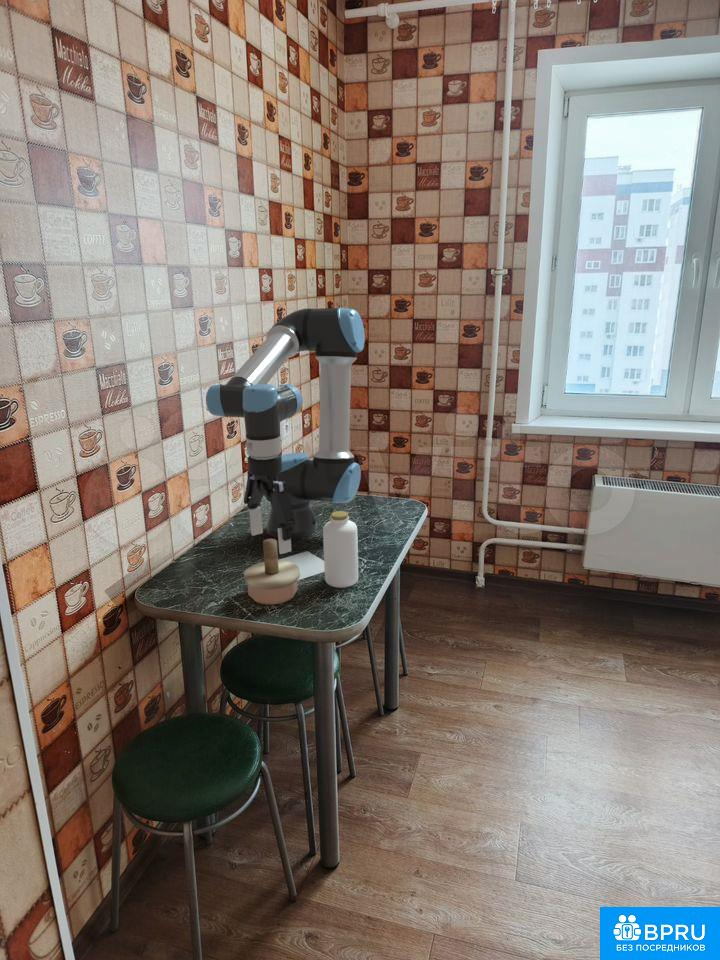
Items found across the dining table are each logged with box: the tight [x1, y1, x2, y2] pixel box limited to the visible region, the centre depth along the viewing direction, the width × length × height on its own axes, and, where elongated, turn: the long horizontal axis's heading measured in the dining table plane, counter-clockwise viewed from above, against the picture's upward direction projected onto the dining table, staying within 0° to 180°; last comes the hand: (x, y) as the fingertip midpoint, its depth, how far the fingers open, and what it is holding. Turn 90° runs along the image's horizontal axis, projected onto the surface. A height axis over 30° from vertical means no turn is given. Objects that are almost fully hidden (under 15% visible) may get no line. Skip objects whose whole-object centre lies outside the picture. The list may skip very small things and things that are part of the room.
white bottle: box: [322, 510, 359, 589], centre depth 159 cm, size 8×8×18 cm
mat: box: [278, 550, 325, 581], centre depth 170 cm, size 14×14×1 cm
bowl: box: [247, 580, 299, 606], centre depth 155 cm, size 11×11×5 cm
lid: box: [243, 538, 300, 589], centre depth 153 cm, size 13×13×9 cm
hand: (270, 542), depth 152 cm, fingers open, 13 cm apart
